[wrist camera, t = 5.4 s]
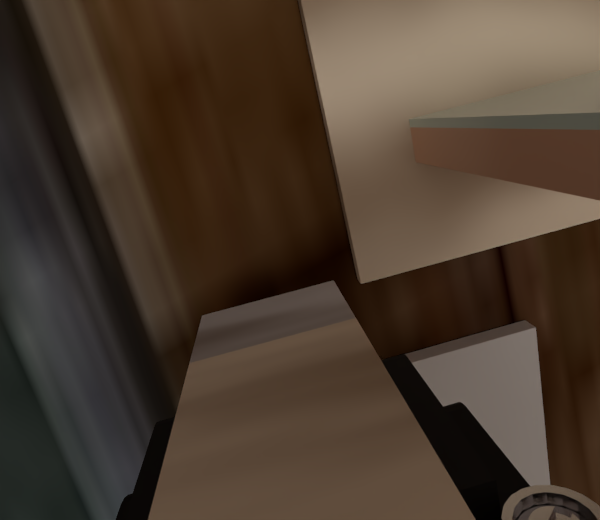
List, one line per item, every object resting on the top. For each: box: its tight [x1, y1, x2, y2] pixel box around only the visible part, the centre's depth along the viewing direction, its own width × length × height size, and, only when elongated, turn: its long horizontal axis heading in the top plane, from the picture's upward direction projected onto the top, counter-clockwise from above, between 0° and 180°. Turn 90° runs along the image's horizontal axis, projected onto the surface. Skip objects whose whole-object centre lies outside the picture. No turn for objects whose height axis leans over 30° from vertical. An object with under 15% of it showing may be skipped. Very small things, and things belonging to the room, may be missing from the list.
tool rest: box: [405, 320, 550, 486], centre depth 22 cm, size 10×10×1 cm
